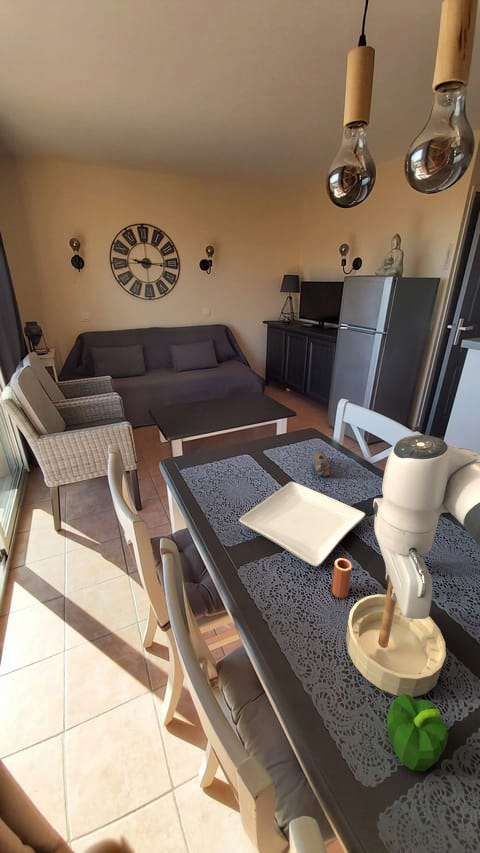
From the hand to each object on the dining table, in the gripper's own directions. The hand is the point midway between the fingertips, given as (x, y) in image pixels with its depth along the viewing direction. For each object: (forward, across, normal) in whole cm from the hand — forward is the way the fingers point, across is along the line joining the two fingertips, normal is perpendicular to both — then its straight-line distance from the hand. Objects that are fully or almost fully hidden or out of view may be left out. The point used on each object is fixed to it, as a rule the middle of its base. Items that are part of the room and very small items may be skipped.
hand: (393, 590), depth 65 cm
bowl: (+17, 0, -2) cm, 17 cm away
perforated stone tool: (+17, +70, +6) cm, 72 cm away
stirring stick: (+15, 0, 0) cm, 15 cm away
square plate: (+17, +37, +14) cm, 43 cm away
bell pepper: (+17, -16, -1) cm, 23 cm away
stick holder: (+17, +14, +6) cm, 23 cm away
